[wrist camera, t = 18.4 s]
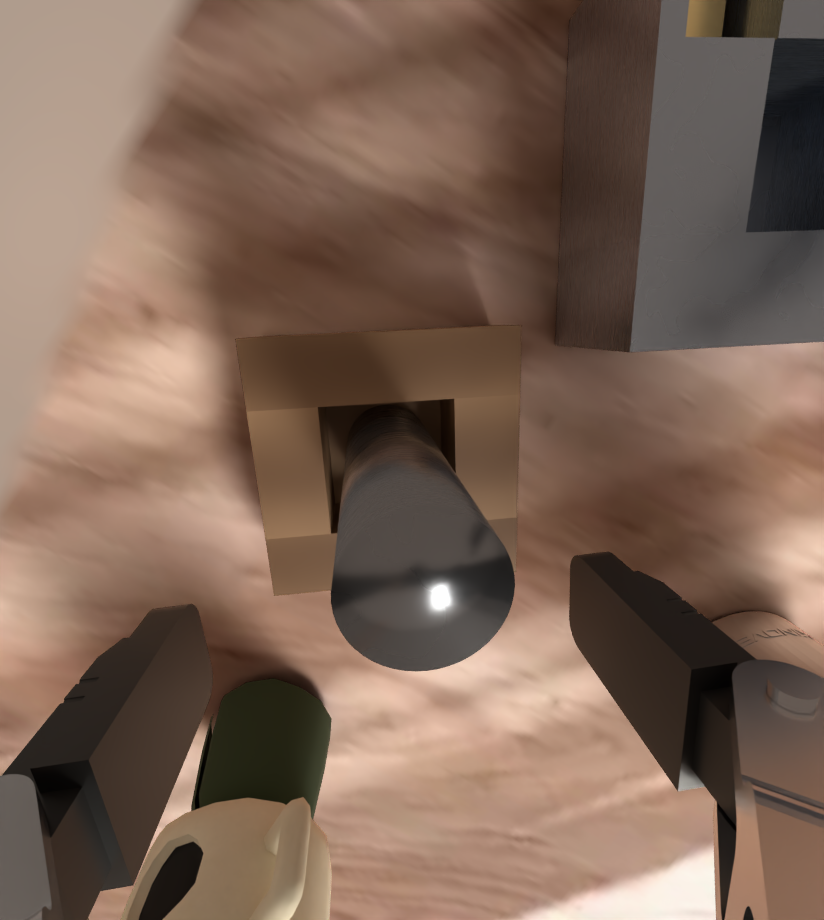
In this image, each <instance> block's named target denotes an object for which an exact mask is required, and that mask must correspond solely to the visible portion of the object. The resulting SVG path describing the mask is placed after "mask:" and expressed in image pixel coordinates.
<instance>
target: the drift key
mask: <svg viewBox="0 0 824 920" xmlns="http://www.w3.org/2000/svg"><path fill="white" fill-rule="evenodd" d="M725 5H726V0H689V8H688V18H687V28H686V37H722V30H723V22H724V13H725Z"/></svg>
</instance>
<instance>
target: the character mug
mask: <svg viewBox="0 0 824 920" xmlns="http://www.w3.org/2000/svg"><path fill="white" fill-rule="evenodd" d="M213 715H214V714H213ZM212 719H213V716H212V717H211V720H210V724H209V727H208V731H207V735H206V739H205V742H204V746H203V750H202V755H201V760H200V765H199V770H198V775H197V780H196V785H195V790H194V795H193V801H192V806H191V812H188V813H185V814H184V815H182V816H180V817H179V818H177V819H176V820H174V821H172V822H171V823H169V824H168V825H167V826H166V827H165V828H164V829H163V830H162V832H161V833H160V834H159V835H158V837H157V839H156V841H155V842H154V844H153V846H152V847H151V849H150V851H149V854H148V856H147V858H146V860H145V862H144V865H143V867H142V869H141V871H140V874H139V877H138V880H137V882H136V884H135V886H134V888H133V890H132V892H131V894H130V896H129V899H128V901H127V904H126V907H125V909H124V912H123V914H122V917H121V919H120V920H329V916H330V897H331V878H332V873H331V862H330V854H329V848H328V842H327V836H326V834H325V833H324V832H323V831H322V830H321V829H320V827H319V826H318V825H317V824H316V823H315V822H314V820H313V817H314V813H315V809H316V804H317V800H318V796H319V791H320V787H321V783H322V778H323V774H324V769H325V764H326V758H327V752H328V746H329V741H330V731H331V717H330V715H329V714H328V712H327V710H326V709H325V707H324V705H323V704H322V702H321V701H320V700H318V699H317V698H315V697H314V696H312V695H311V694H309V693H308V692H307V691H305V690H304V689H302V688H301V687H298V686H295V685H292V684H289V683H286V682H283V681H280V680H277V679H274V678H273V679H267V680H260V681H254V682H247V683H245V684H243V685H242V686H240V687H238V688H236V689H235V690H233V691H231V692H230V693H228V694H226V695H225V696H224V698H223V699H222V701H221V705H220V708H219V712H218V716H217V719H216V723H215V726H214V730H213V734H212V726H211V722H212Z"/></svg>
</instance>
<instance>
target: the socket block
mask: <svg viewBox="0 0 824 920" xmlns="http://www.w3.org/2000/svg"><path fill="white" fill-rule="evenodd" d="M688 8H689V0H583V1H582V3H581V4H580V6H579V7H578V9H577V10H576V12H575V13H574V14H573V16H572V17H571V19H570V20H569V43H568V66H567V88H566V111H565V134H564V156H563V179H562V202H561V225H560V247H559V270H558V293H557V315H556V338H555V345H557V346H568V347H579V348H590V349H600V350H611V351H622V352H643V351H662V350H680V349H698V348H716V347H734V346H753V345H771V344H789V343H807V342H824V0H726V5H725V13H724V22H723V30H722V37H686V28H687V18H688Z"/></svg>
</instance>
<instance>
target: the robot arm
mask: <svg viewBox="0 0 824 920" xmlns="http://www.w3.org/2000/svg"><path fill="white" fill-rule="evenodd" d="M569 620H570V627H571V631H572V635H573V638H574V640H575V643H576V645H577V647H578V648H579V650H580V651H581V653H582V654H583V655H584V657H585V658H586V660H587V661H588V663H589V664H590V666H591V667H592V668H593V670H594V671H595V673H596V674H597V676H598V677H599V678H600V680H601V681H602V683H603V684H604V686H605V687H606V689H607V690H608V691H609V693H610V694H611V696H612V697H613V699H614V700H615V701H616V703H617V704H618V706H619V707H620V709H621V710H622V712H623V713H624V714H625V716H626V717H627V719H628V720H629V722H630V723H631V724H632V726H633V727H634V729H635V730H636V732H637V733H638V735H639V736H640V737H641V739H642V740H643V742H644V743H645V745H646V746H647V747H648V749H649V750H650V752H651V753H652V755H653V756H654V758H655V759H656V760H657V762H658V763H659V765H660V766H661V768H662V769H663V770H664V772H665V773H666V775H667V776H668V778H669V779H670V781H671V782H672V783H673V785H674V786H675V788H676V789H677V791H683V790H689V789H694V788H700V787H706V788H707V789H708V791H709V792H710V793H711V795H712V796H713V797H714V799H715V802H714V810H713V833H714V866H715V899H716V920H824V645H823V644H821V643H820V642H819V641H817V640H816V639H814V638H813V637H811V636H810V635H808V634H807V633H805V632H804V631H803V630H801V629H800V628H798V627H797V626H795V625H794V624H792V623H791V622H789V621H788V620H786V619H784V618H782V617H780V616H778V615H776V614H772V613H767V612H763V611H747V612H742V613H737V614H732V615H729V616H726V617H724V618H721V619H719V620H716V621H714V622H710V621H709V620H708V619H707V618H706V617H704V616H703V615H702V614H698V613H697V610H696V609H695V608H693V607H692V606H691V605H690V604H689V603H687V602H686V601H682V599H681V597H680V596H679V595H678V594H676V593H675V592H674V591H673V590H671V589H670V588H669V587H668V586H667V585H665V584H664V583H663V582H661V581H659V580H656V579H654V578H652V577H650V576H648V575H646V574H644V573H641V572H639V571H634V572H633V571H632V570H631V569H630V568H629V567H627V566H626V565H625V564H624V563H623V562H622V561H621V560H619V559H618V558H617V557H616V556H615V555H614V554H612V553H611V552H600V553H592V554H585V555H577V556H574V557H573V558H572V560H571V565H570V610H569ZM212 683H213V673H212V666H211V661H210V657H209V653H208V649H207V645H206V640H205V636H204V632H203V628H202V624H201V620H200V616H199V612H198V610H197V608H196V607H195V606H194V605H193V604H188V605H180V606H172V607H164V608H157V609H152V610H151V611H150V612H149V613H148V614H147V615H146V617H145V618H144V619H143V621H142V622H141V623H140V625H139V626H138V627H137V628H136V630H135V631H134V632H133V634H132V635H131V636H130V638H123V639H122V640H120V641H119V642H118V643H116V644H115V645H114V646H112V647H111V648H110V649H109V650H107V651H106V652H105V653H103V654H102V655H101V656H99V657H98V658H97V659H96V660H95V661H94V663H93V664H92V665H91V666H90V668H89V669H88V670H87V671H86V673H85V674H84V675H83V676H82V677H81V679H80V683H79V684H76V685H75V686H74V687H73V689H72V690H71V691H70V692H69V693H68V695H67V696H66V697H65V698H64V703H62V704H60V705H59V706H58V707H57V708H56V709H55V711H54V712H53V713H52V714H51V716H50V717H49V718H48V719H47V721H46V722H45V723H44V724H43V725H42V727H41V728H40V729H39V730H38V732H37V733H36V734H35V735H34V737H33V738H32V739H31V740H30V741H29V743H28V744H27V745H26V746H25V748H24V749H23V750H22V751H21V753H20V754H19V755H18V756H17V758H16V759H15V760H14V761H13V762H12V764H11V765H10V766H9V767H8V769H7V770H6V771H5V772H4V774H3V775H2V776H0V920H89V919H88V916H89V914H90V912H91V910H92V908H93V906H94V904H95V901H96V899H97V897H98V895H99V893H100V891H103V890H109V889H115V888H120V887H126V886H132V885H133V884H134V882H135V880H136V877H137V875H138V872H139V870H140V867H141V865H142V863H143V860H144V858H145V855H146V853H147V850H148V848H149V846H150V843H151V841H152V838H153V836H154V833H155V831H156V829H157V826H158V824H159V821H160V819H161V817H162V814H163V812H164V809H165V807H166V804H167V802H168V800H169V797H170V795H171V792H172V790H173V787H174V785H175V783H176V780H177V778H178V775H179V773H180V770H181V768H182V766H183V763H184V761H185V758H186V756H187V753H188V751H189V749H190V746H191V744H192V741H193V739H194V736H195V734H196V732H197V729H198V727H199V724H200V722H201V719H202V717H203V715H204V712H205V710H206V707H207V705H208V702H209V700H210V696H211V692H212Z"/></svg>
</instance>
